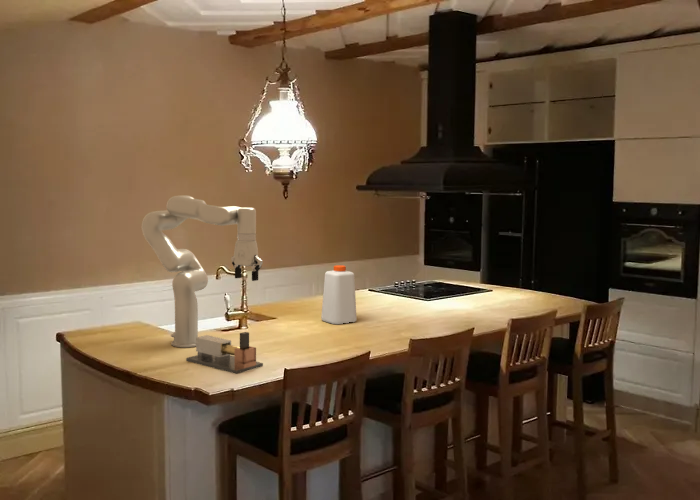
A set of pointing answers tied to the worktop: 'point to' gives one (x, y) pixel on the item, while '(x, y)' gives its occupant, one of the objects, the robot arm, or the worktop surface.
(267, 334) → the worktop surface
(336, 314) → the plastic bottle
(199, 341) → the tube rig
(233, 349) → the sliding bolt with handle
